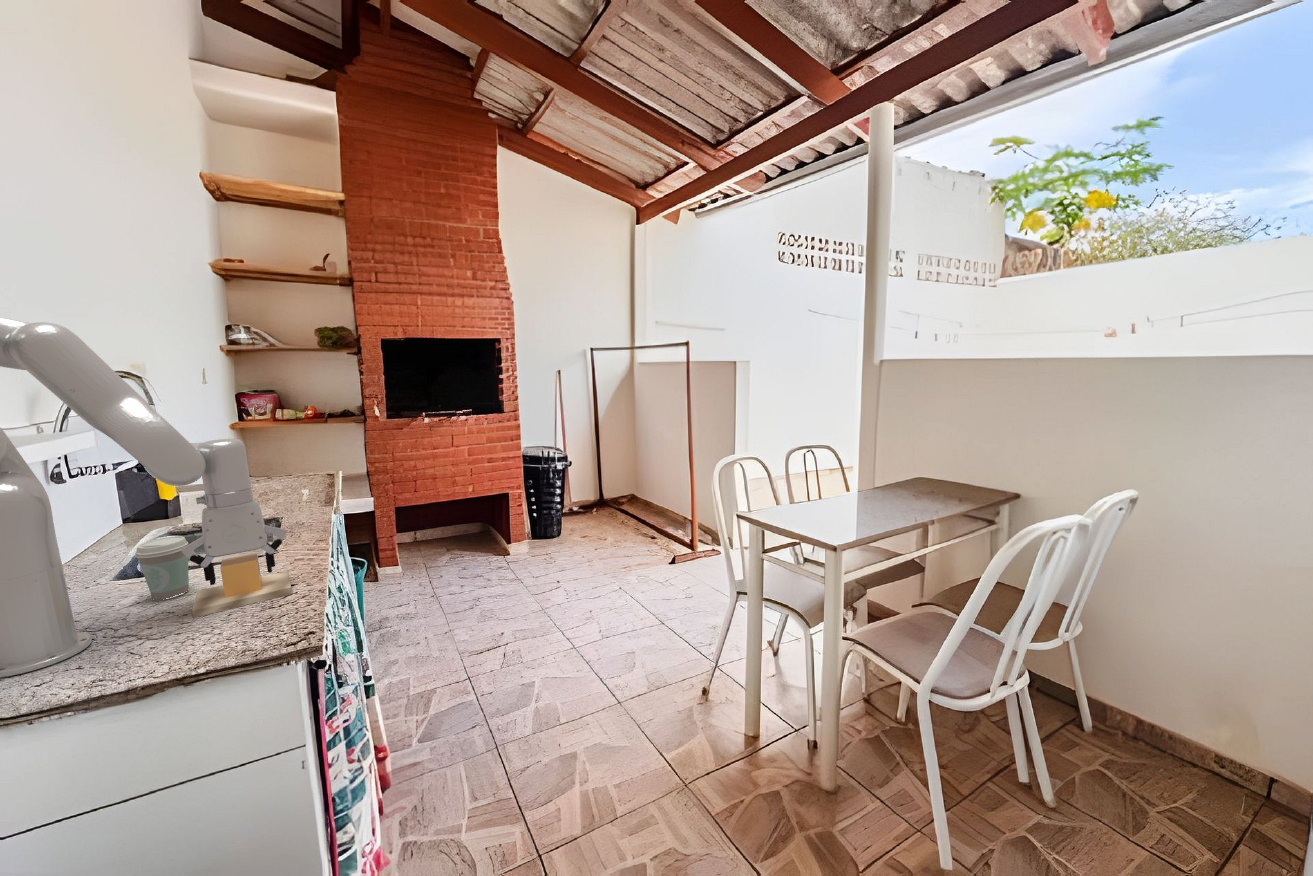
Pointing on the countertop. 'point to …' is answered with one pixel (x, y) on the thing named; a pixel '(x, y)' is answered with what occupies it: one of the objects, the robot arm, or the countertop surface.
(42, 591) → the robot arm
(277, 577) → the post board
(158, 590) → the coffee cup
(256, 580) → the tan matte cube
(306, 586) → the countertop surface
